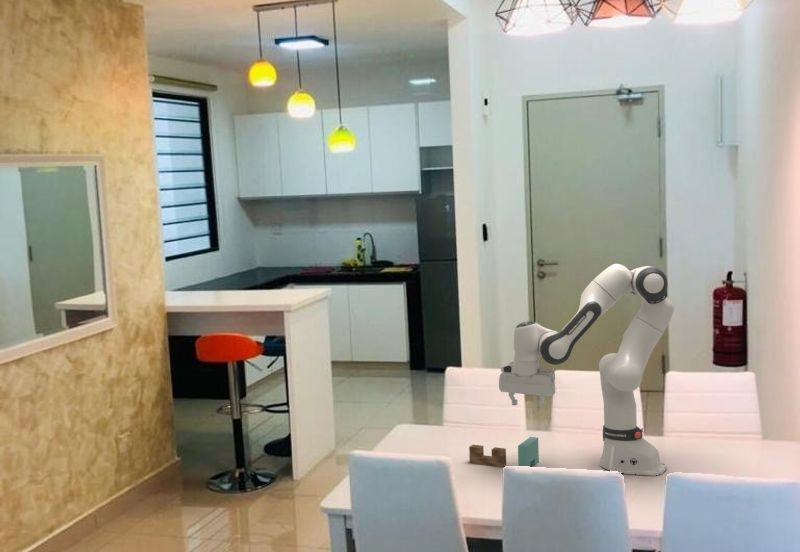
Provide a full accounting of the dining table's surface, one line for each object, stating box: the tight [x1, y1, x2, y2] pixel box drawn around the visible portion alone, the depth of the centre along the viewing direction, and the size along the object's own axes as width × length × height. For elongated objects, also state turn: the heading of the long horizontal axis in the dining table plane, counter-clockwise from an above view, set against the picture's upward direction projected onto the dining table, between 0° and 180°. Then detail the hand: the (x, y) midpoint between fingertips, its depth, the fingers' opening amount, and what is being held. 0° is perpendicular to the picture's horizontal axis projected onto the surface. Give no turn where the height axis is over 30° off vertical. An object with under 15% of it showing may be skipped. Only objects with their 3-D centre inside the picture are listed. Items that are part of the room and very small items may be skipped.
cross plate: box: [517, 436, 540, 467], centre depth 303 cm, size 12×3×9 cm, turn 150°
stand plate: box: [468, 444, 507, 468], centre depth 308 cm, size 13×3×6 cm, turn 60°
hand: (527, 406), depth 302 cm, fingers open, 8 cm apart
